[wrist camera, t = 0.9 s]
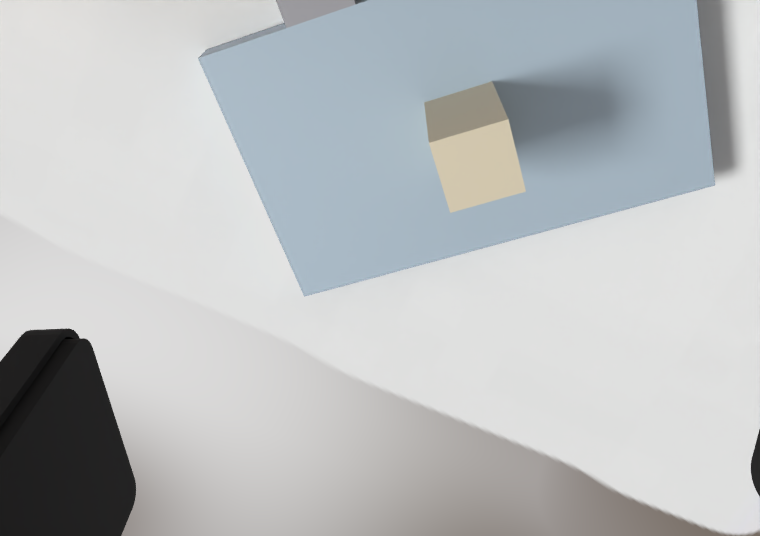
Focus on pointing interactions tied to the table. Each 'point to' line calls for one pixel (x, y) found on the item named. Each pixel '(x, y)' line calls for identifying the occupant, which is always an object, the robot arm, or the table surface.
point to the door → (459, 122)
